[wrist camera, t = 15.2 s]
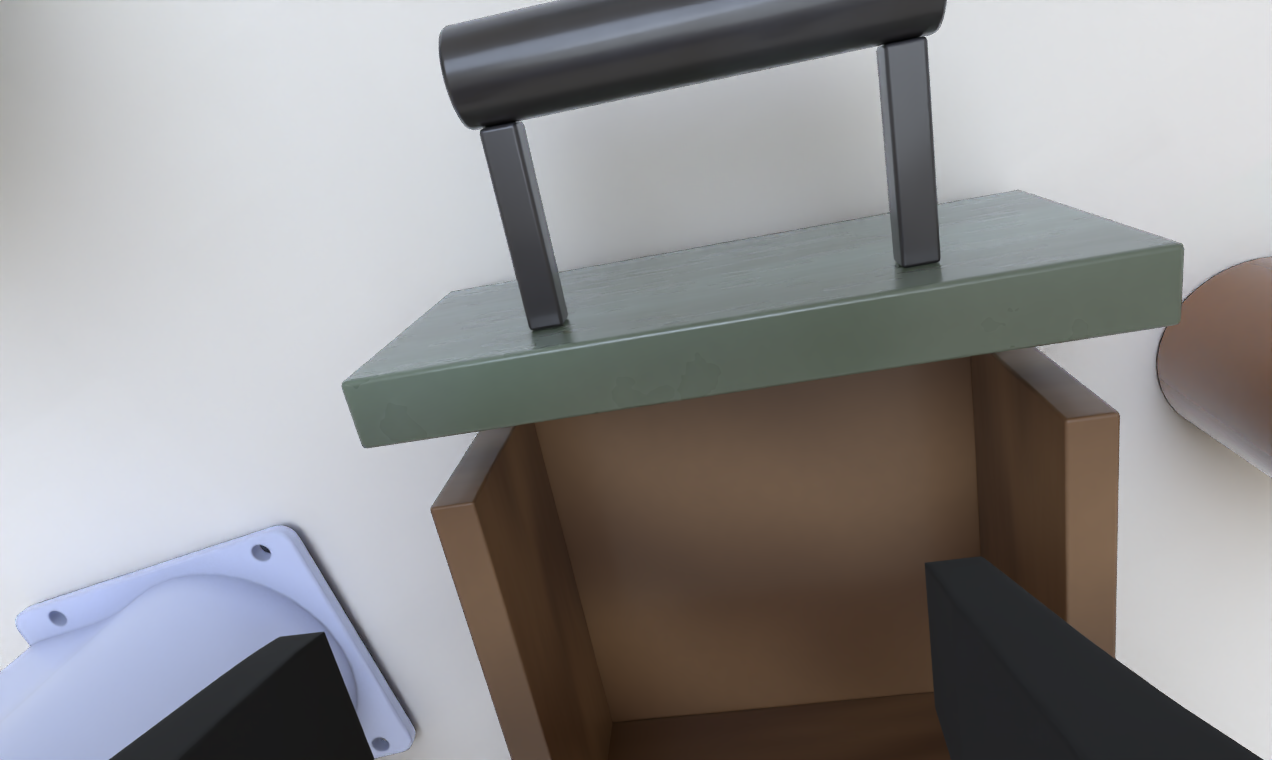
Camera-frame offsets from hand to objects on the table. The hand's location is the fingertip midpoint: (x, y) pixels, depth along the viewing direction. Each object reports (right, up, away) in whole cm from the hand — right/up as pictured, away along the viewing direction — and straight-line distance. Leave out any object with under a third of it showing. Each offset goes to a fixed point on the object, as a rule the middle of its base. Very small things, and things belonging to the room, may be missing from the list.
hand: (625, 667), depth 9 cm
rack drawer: (+3, +3, +9) cm, 10 cm away
